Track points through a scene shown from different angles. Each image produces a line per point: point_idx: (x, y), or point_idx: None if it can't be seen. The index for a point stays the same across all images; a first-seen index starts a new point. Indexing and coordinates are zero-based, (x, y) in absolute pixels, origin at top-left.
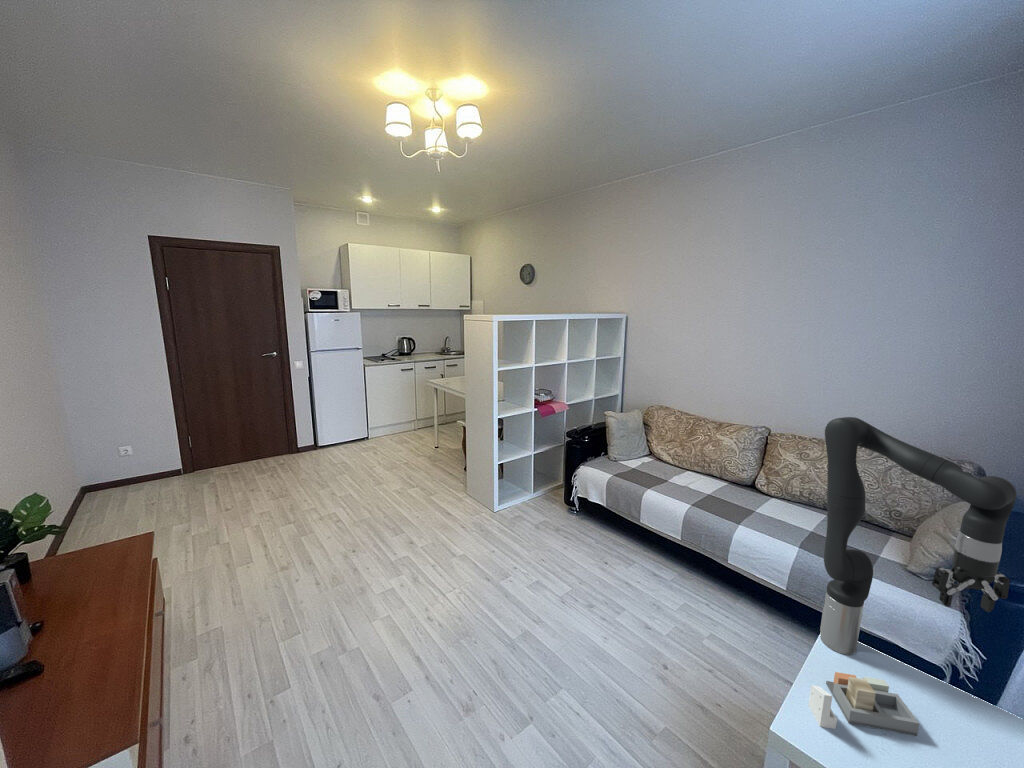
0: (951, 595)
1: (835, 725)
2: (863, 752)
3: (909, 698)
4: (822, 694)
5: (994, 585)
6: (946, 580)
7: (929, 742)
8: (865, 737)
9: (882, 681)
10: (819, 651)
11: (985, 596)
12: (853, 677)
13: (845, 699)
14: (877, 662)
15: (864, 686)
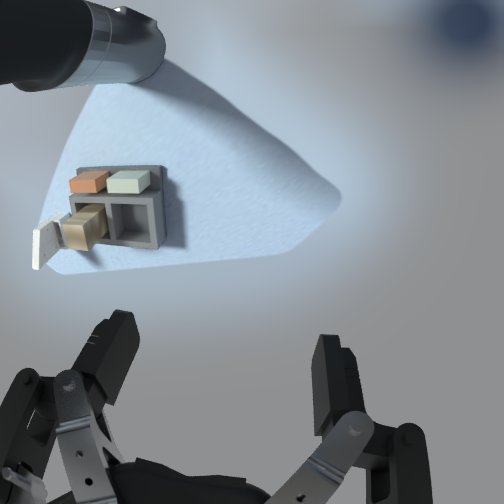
0: (107, 403)
1: None
2: (96, 264)
3: (197, 166)
4: (33, 263)
5: (392, 488)
6: (40, 472)
7: (179, 243)
8: (103, 246)
9: (132, 183)
10: (93, 90)
11: (323, 418)
12: (66, 224)
13: None
14: (188, 85)
15: (77, 240)
